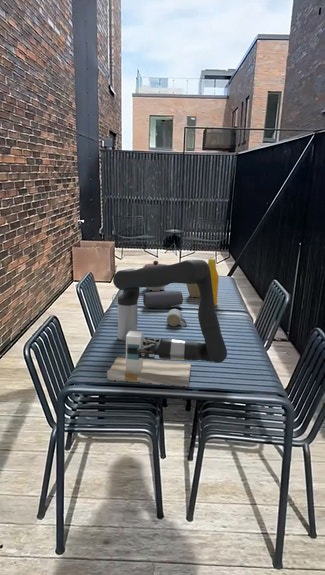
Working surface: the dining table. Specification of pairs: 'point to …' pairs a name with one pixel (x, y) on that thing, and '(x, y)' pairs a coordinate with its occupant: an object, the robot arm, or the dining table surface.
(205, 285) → the robot arm
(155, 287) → the canister
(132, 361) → the carton
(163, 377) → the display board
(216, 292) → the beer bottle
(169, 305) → the bluetooth speaker
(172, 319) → the ceramic mug
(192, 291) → the plant pot
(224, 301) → the dining table surface
